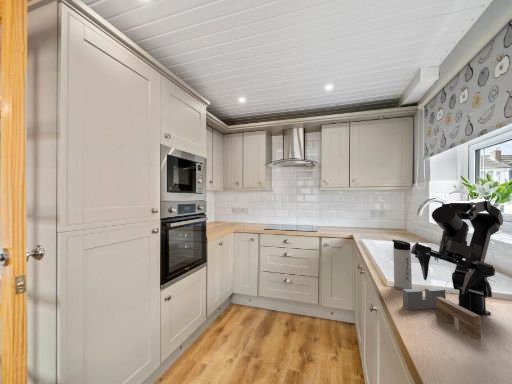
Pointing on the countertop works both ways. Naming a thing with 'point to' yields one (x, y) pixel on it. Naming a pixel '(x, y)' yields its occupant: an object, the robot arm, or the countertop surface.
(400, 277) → the travel mug
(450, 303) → the cross plate
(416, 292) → the base plate
